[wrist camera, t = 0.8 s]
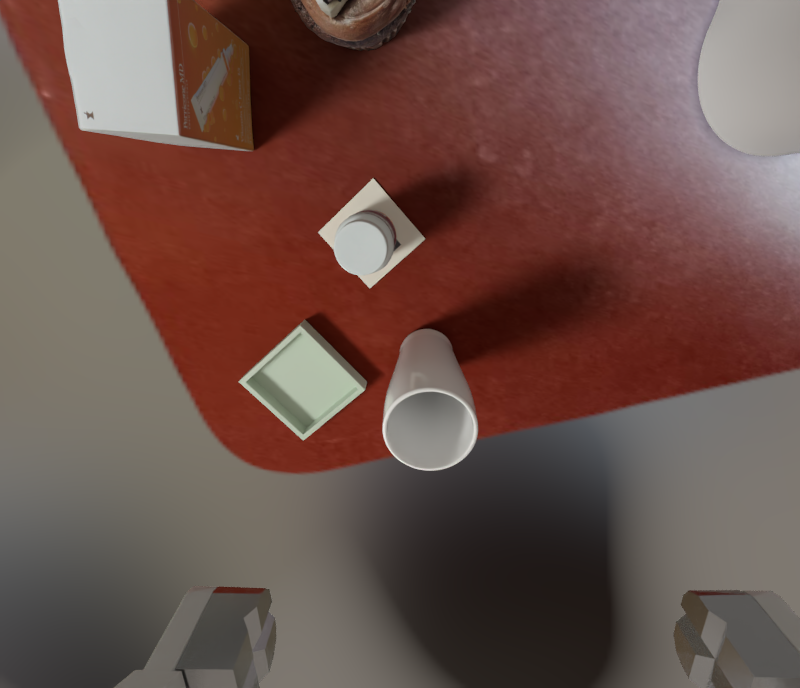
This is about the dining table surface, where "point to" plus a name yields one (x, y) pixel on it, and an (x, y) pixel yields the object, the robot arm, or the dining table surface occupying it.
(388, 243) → the pill bottle
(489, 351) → the dining table surface
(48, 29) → the dining table surface
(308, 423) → the sage tray
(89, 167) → the dining table surface
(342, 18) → the cupcake
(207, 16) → the small box
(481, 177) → the dining table surface
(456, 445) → the drinking glass
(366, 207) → the coaster
